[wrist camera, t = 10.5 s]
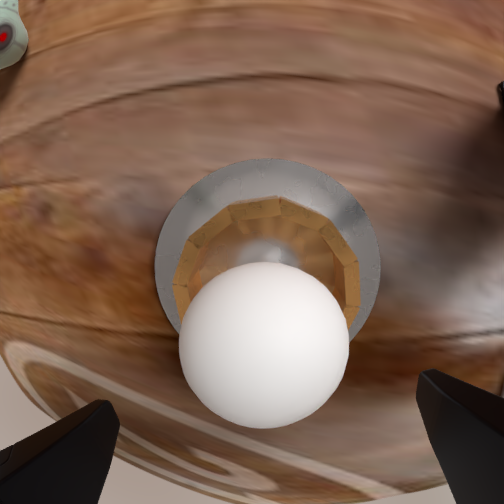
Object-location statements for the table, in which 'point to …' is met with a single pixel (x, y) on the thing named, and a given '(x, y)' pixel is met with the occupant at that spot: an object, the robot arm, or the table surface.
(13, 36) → the robot head
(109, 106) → the table surface
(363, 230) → the wooden ring on plate
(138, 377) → the table surface
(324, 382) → the lightbulb
